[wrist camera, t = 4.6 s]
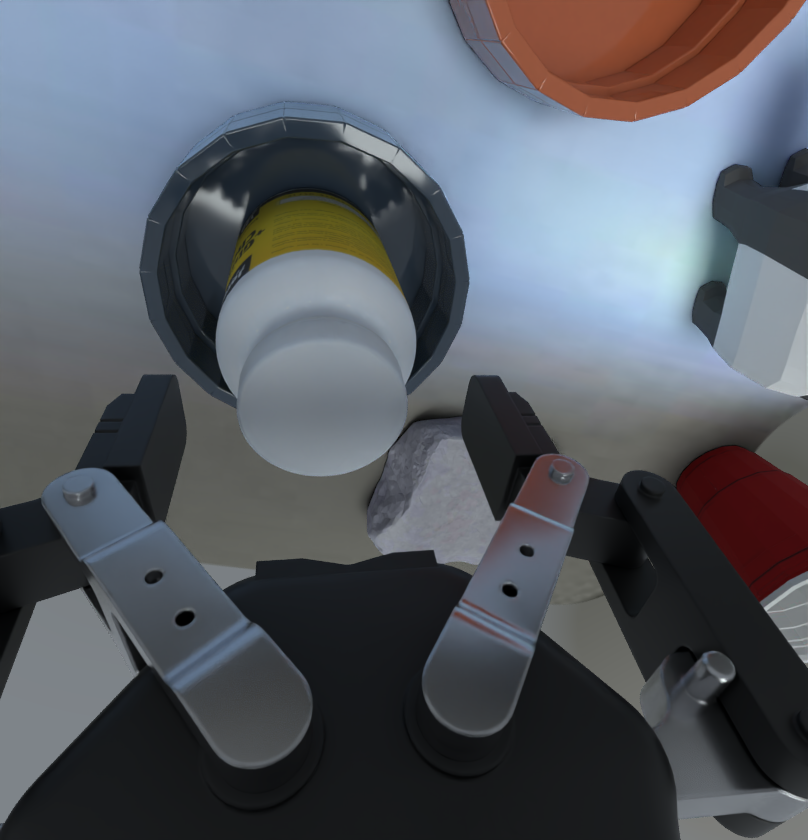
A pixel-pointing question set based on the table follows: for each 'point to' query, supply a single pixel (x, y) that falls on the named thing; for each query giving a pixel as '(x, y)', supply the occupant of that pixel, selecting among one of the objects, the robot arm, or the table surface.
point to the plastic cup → (757, 530)
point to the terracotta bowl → (619, 49)
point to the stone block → (431, 497)
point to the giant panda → (762, 279)
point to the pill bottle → (315, 335)
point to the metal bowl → (278, 172)
